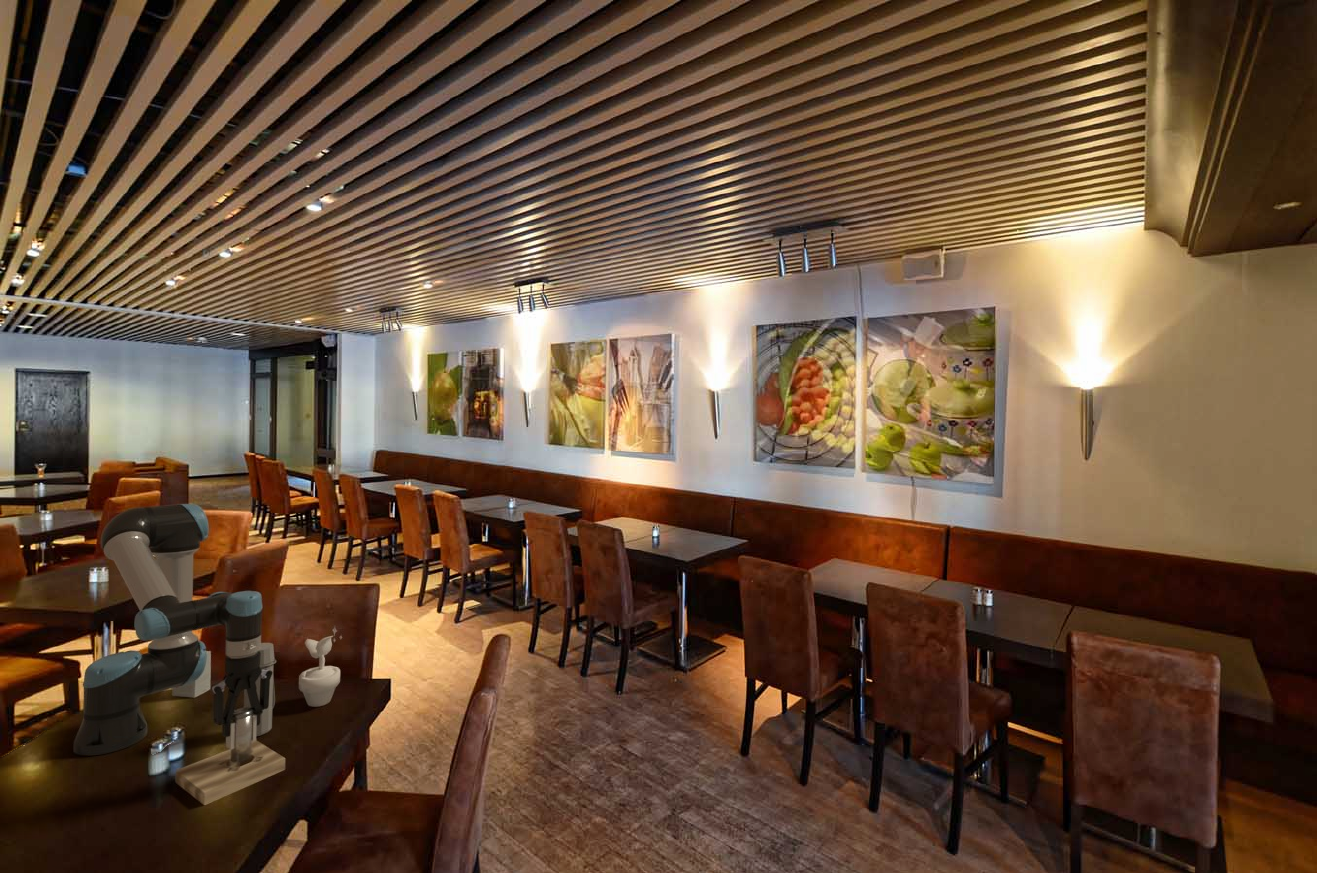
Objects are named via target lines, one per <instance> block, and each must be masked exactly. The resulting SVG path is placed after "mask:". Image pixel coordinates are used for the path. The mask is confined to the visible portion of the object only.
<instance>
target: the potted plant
mask: <svg viewBox="0 0 1317 873" xmlns="http://www.w3.org/2000/svg"><path fill="white" fill-rule="evenodd" d="M332 632H333V635H330V636H327V637H323V638H321V639H320V640H319V641H318V640H315V639H309V638H307V639H306V640H305V641H304V645H305V647H306V648H307V649H308V651H309V653H310V655H311V656H310V657H312V658H314V659H318V658H319V660H318V661H319V663H318V666H316V667H311V668H308V669H305V670H304V671H302V672H301V673H300V674H299V675H298V689H299V691H300V692H301V693H303V696H304V699H305V702H306V704H307V705H308V706H309V707H311V708H313V707H314V708H319V707H321V706H322V707H323V706H325V705H327V704H329V703H330V702H331V700H332V698H333V695H334V693H335V690H336V687H338V685H339V684H340V682H341V669H340V667H337V666H333V665H325V662H326V659H325V658H326V657H325V656H326V655H328V654H329V653H330V651H331V650H332V646H333V643H335V642H336V638H335V637H334V636H335V634H336V632H338V630H337V629H336V626H334V627H333V629H332ZM333 637H334V638H333ZM332 638H333V643H332ZM342 638H343V636H342V635H340V636H339V639H340V640H342Z"/></svg>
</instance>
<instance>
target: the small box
mask: <svg viewBox="0 0 1317 873" xmlns="http://www.w3.org/2000/svg"><path fill="white" fill-rule="evenodd" d="M206 652H207V660H206V666H205V669H204V671H203V673H202V675H201V676H200V677H199V678H198V679H197V680H195V681H193V682H190V683H187V684H185V685H183V686H177V687H174V688H171V694H172V697H183V698H194V699H195V698H197V697H198V696H201V695H202V694H204V693H206V692H208V691H209V690H211V675H212V674H211V673H212V672H211V668H212V663H211V662H212V660H211V658H212V657H211V656H212V654H211V653H212V651H211V650H209V651H208V650H206Z"/></svg>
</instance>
